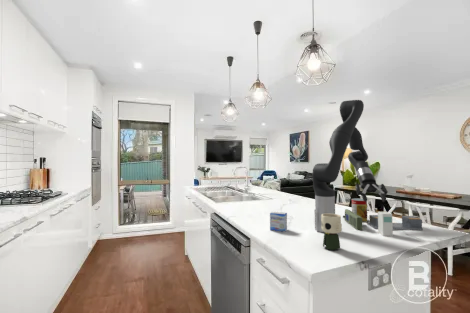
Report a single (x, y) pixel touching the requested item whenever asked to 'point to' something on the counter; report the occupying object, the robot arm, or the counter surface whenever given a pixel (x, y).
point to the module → (385, 224)
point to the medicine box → (278, 221)
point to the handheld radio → (353, 219)
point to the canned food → (360, 208)
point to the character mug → (331, 230)
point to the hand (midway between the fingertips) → (375, 201)
